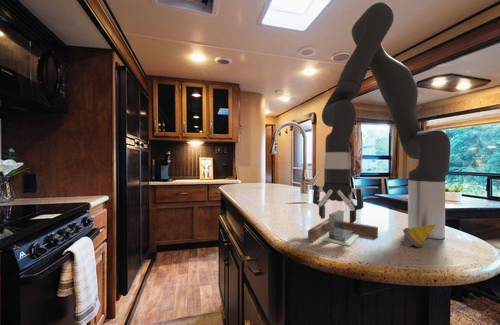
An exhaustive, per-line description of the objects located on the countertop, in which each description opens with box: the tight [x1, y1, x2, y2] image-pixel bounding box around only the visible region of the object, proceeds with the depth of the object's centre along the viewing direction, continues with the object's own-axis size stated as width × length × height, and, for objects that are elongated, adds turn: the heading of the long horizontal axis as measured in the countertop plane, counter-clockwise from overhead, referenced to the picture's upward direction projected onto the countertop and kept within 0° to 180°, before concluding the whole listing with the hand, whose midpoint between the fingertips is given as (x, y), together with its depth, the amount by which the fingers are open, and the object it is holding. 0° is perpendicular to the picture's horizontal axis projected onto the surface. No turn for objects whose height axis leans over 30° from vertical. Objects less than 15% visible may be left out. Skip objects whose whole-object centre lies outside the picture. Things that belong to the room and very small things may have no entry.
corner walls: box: [307, 218, 379, 243], centre depth 65 cm, size 18×15×3 cm
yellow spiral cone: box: [402, 224, 436, 248], centre depth 59 cm, size 5×5×10 cm
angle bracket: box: [328, 209, 354, 242], centre depth 65 cm, size 8×4×7 cm, turn 138°
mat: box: [322, 233, 360, 247], centre depth 65 cm, size 11×8×1 cm
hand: (336, 220), depth 66 cm, fingers open, 8 cm apart
